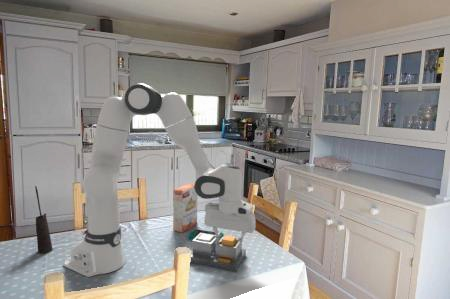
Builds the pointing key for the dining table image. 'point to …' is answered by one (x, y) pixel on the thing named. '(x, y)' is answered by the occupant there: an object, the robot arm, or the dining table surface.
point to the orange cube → (229, 240)
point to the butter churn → (42, 231)
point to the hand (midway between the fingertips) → (229, 239)
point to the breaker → (206, 238)
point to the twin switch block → (217, 254)
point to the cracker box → (184, 207)
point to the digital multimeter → (196, 232)
